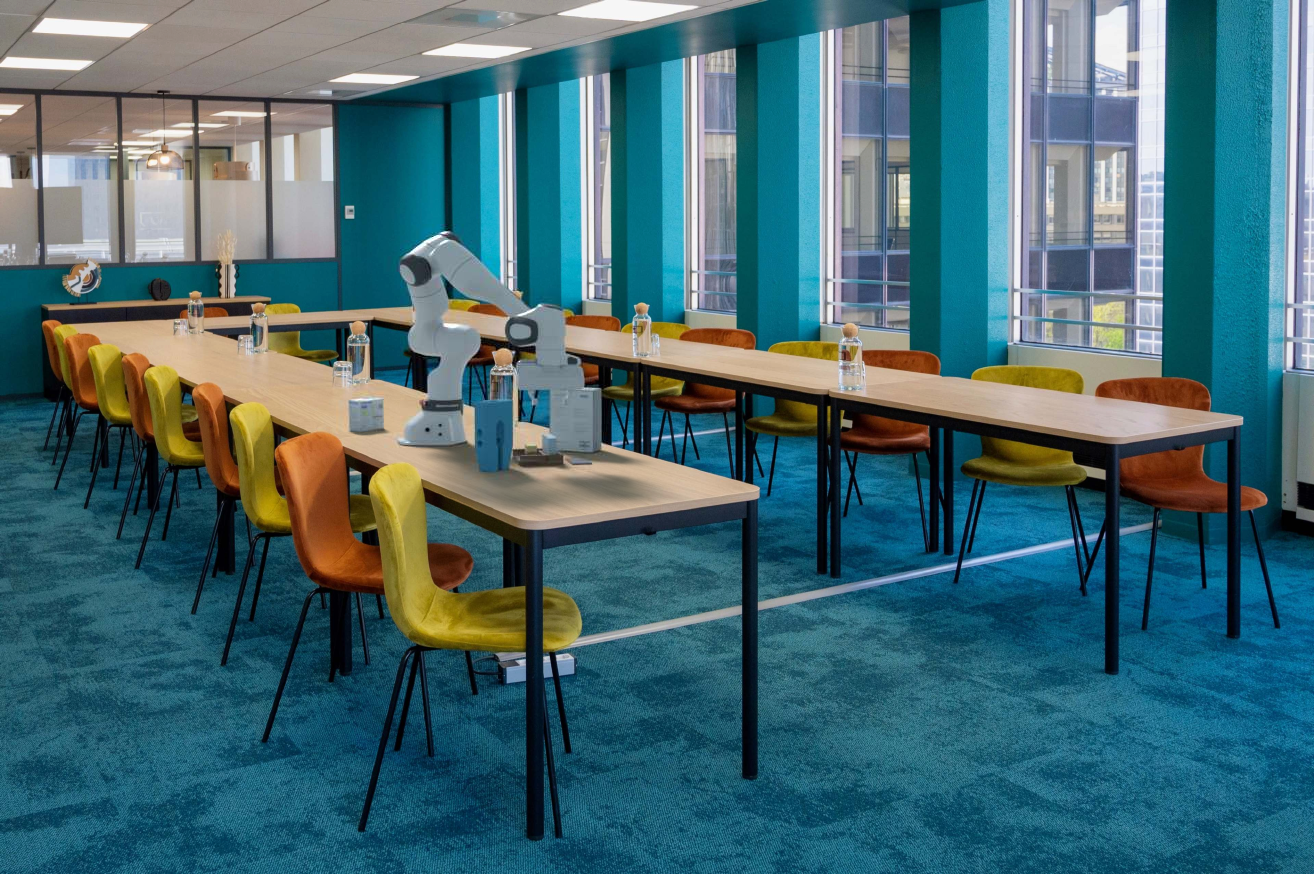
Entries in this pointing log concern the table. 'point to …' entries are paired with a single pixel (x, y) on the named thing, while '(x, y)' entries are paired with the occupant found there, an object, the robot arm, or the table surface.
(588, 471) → the table surface
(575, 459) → the mat
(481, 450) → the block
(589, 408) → the hard drive box
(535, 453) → the offcut lower
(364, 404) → the light bulb box
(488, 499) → the table surface
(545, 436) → the light blue rectangular block
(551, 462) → the rack
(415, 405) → the table surface
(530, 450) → the offcut upper
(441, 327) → the robot arm
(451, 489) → the table surface
